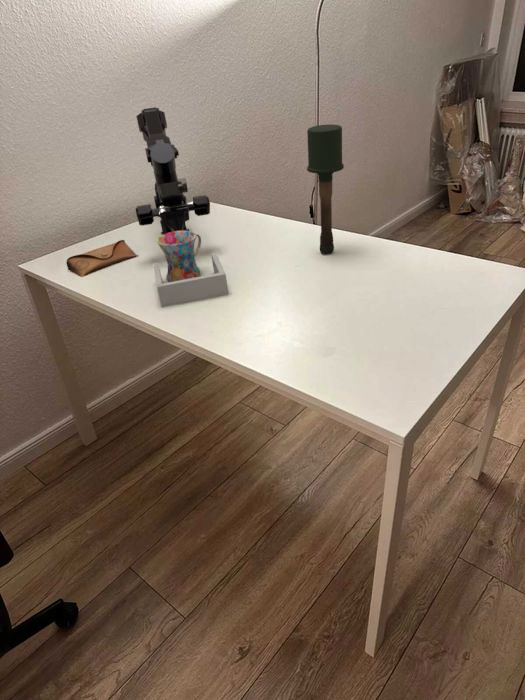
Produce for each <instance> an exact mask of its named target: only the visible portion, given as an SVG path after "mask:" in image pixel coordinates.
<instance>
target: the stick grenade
mask: <svg viewBox="0 0 525 700" xmlns="http://www.w3.org/2000/svg"><path fill="white" fill-rule="evenodd" d="M307 156H308V157H307V158H308V159H307V161H308V162H307V163H308V165H307V166H306V171H307V172H308V173H312V174H317V175H318V195H319V198H320V199H319V201H320V235H319V252H320V254H322V255H325V254H326V255H327V254H328V255H331V254H333V253H334V250H335V246H334V235H333V227H332V225H333V224H332V221H333V219H332V216H333V215H332V214H333V213H332V209H333V208H332V199H333V198H332V197H333V174H334V173H337V172H340V171H342V170H343V169H344V167H345V165H344V163H343V127H342V126H341V125H339V124H331V123H330V124H329V123H328V124H319V125H314V126H311V127H309V128H307Z"/></svg>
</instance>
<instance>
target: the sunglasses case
mask: <svg viewBox="0 0 525 700" xmlns="http://www.w3.org/2000/svg"><path fill="white" fill-rule="evenodd" d="M137 257H139V255H137V254H136V253H135V252H134V251H133V249H132V248H131V247H130V246H129V245H128V244H127V243H126V242H125V240H124V239H120V240H118V241H117V242H113V243H112V244H107V245H105V246H101V247H98V248H95V249H92V250H89V251H86V252H84V253H81V254H75V255H72V256H70V257H68V258H67V259H66V267H67V270H68V271H69V270H70V272H71V271H72V272H71V273H73V272H74V273H73V274H75V275H76V276H79V277H81V278H83V277H86V276H88V275H91V274H93V273H95V272H97V271H102V270H103V269H106V268H109V267H111V266H115V265H116V264H120V263H123V262H126V261H128V260H131V259H135V258H137Z"/></svg>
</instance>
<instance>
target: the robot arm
mask: <svg viewBox="0 0 525 700" xmlns="http://www.w3.org/2000/svg"><path fill="white" fill-rule="evenodd" d="M140 111H141V112H139V114H137V115H136V121H137V126H138V130H139V133H142V137H143V141H145V143H146V146H147V148H146V147H145V148H144V149H145V156H146V159H147V160H146V161H147V163H150V164H151V167H152V169H153V175H154V179H155V182H154V183H155V184H154V192H155V193H154V194H155V195H154V196H153V200H154V204H155V205H154V206H155V208H152V205H151V203H148V204H143V205H142V204H141V205H137V206H135V207H136V208H135V214H136V218H137V221H138V224H139V226H148V225H152V224H153V223H154V222H155V219H154V218H156V217H157V218H160V220H159V222H160V226H161V232H160V234H161V235H164V234H166V233H169V232H174V231H190V229H189V228H187V226H186V222H189V220H190V212H193V211H194V215H196V216H197V217H201V216H208V215H210V214H211V202H210V197H209V196H207V195H206V194H204V195H197V196H193V197H192V202H188V203H187V197H186V195H185V194H184V193H188V190H189V189H188V185H187V181H186V180H187V179H186V178H185V177H183V178H178V174H177V170H176V168H177V167H176V165H177V164H176V159H178V156H180V153H179V150H178V149H177V148H176V147H175V145H174V144H173V143H172V141H171V139H170V137H169V136H167V133H166V129H168V123H167V118H166V114H165V112H164V111H163V110H160V108H159V107H149V108H143V109H142V110H140Z"/></svg>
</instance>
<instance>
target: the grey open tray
mask: <svg viewBox="0 0 525 700" xmlns="http://www.w3.org/2000/svg"><path fill="white" fill-rule="evenodd" d="M210 255H211V260H212V261H211V263H212V267H213V273H212V274H207V275H200V276H199V277H195V278H190V279H185V280H179V281H174V282H170V281H168V282H163V279H162V274H161V270H160V269H161V268H160V265H159V262H156V263H153V270H154V277H155V284H156V288H157V293H158V298H159V301H160V306H161V308H164V307H168V306H174V305H179V304H185V303H189V302H190V303H191V302H195V301H201V300H205V299H208V298H209V299H210V298H214V297H220V296H225V295H229V289H228V282H227V275H226V271H225V270H224V267H223V265H222V263H221V261H220V258H219V256H218V255H217V252H211V253H210Z"/></svg>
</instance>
